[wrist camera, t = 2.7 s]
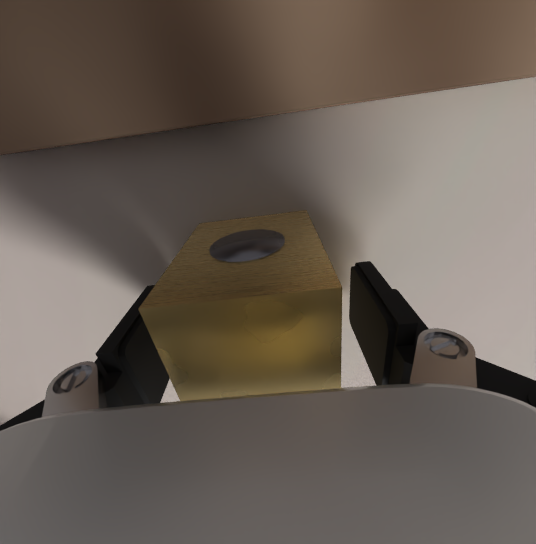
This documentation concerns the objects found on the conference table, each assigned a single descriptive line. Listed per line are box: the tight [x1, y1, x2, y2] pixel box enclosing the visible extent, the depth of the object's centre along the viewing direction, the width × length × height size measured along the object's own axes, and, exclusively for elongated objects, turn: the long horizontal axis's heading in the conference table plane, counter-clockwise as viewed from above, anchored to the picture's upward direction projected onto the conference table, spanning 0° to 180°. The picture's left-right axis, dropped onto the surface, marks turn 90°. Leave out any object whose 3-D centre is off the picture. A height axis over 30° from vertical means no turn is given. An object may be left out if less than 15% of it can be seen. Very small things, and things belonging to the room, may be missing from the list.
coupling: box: [139, 210, 342, 401], centre depth 10 cm, size 7×4×6 cm, turn 7°
